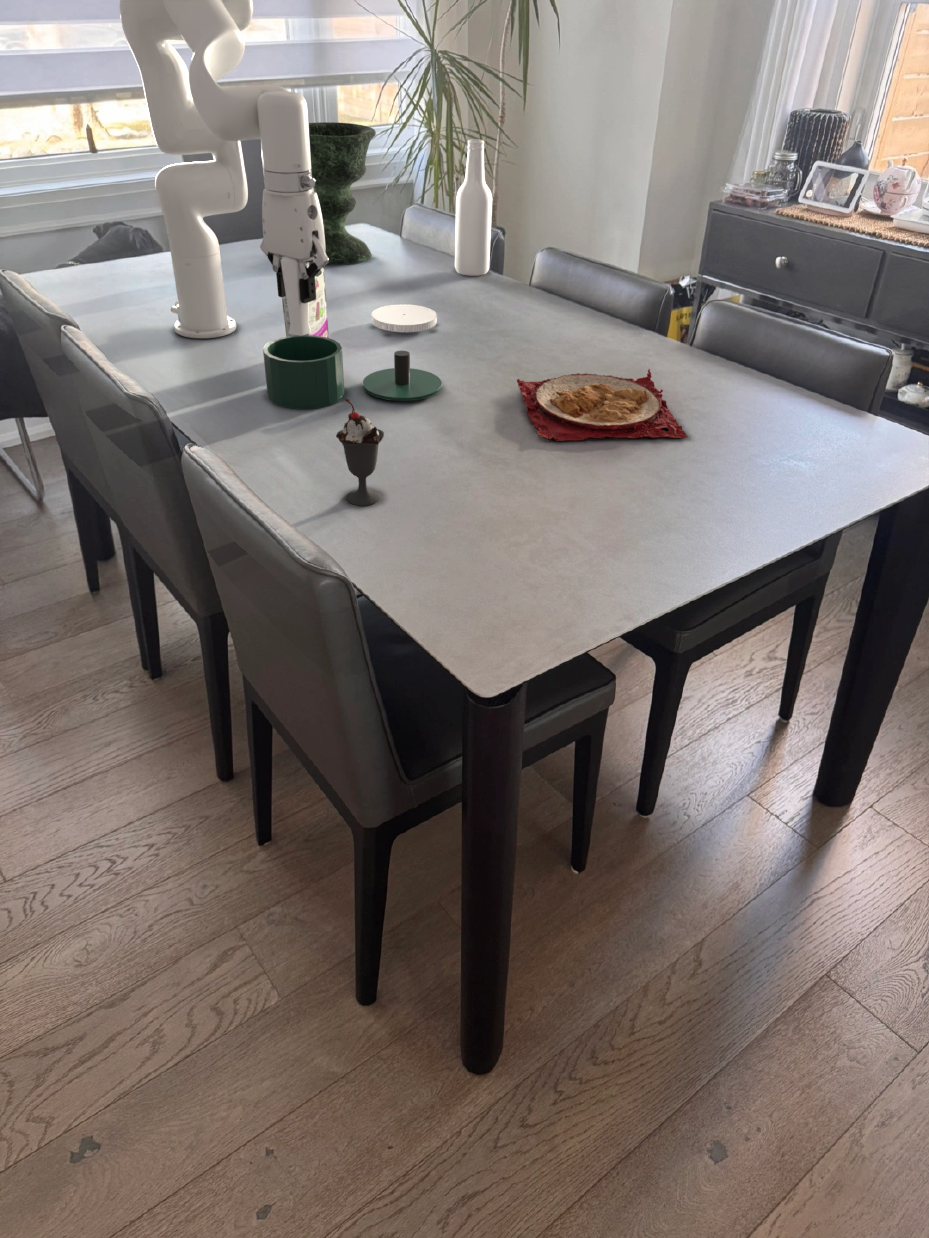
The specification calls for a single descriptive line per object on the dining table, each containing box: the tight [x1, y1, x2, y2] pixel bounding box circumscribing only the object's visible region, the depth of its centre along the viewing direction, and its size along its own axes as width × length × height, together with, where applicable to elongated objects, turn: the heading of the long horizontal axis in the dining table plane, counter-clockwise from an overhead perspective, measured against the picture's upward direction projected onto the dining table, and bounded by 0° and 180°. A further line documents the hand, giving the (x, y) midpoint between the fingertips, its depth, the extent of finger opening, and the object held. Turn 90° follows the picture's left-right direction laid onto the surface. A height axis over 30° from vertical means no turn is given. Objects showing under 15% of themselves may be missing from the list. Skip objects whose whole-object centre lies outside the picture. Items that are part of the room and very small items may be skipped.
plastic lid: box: [370, 303, 438, 333], centre depth 197 cm, size 14×14×2 cm
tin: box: [262, 335, 345, 410], centre depth 164 cm, size 14×14×8 cm
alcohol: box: [454, 138, 493, 277], centre depth 225 cm, size 9×9×30 cm
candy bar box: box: [281, 267, 330, 339], centre depth 175 cm, size 11×5×16 cm, turn 168°
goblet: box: [308, 121, 377, 265], centre depth 233 cm, size 22×22×30 cm
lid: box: [362, 350, 443, 402], centre depth 168 cm, size 15×15×7 cm
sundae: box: [335, 398, 385, 507], centre depth 131 cm, size 7×7×15 cm
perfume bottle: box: [281, 256, 311, 336], centre depth 155 cm, size 5×4×15 cm
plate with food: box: [516, 368, 689, 442], centre depth 162 cm, size 24×26×4 cm
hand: (297, 297), depth 156 cm, fingers closed on perfume bottle, 4 cm apart
